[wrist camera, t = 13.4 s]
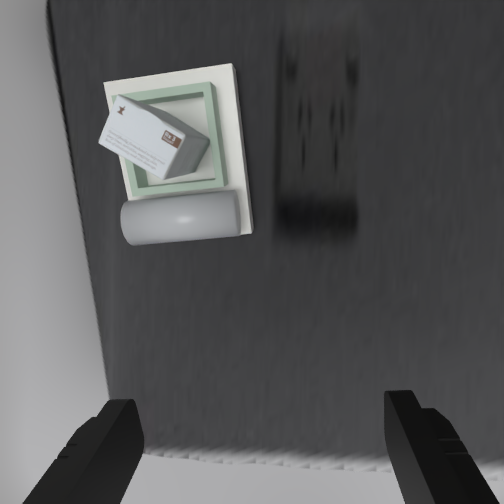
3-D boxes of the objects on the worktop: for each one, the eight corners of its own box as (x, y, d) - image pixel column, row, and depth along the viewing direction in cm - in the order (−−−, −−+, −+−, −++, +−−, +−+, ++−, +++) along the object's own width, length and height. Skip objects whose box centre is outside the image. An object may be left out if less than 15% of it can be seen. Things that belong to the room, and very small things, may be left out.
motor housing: (235, 69, 38) (223, 50, 31) (253, 227, 43) (247, 244, 36) (116, 87, 40) (76, 72, 32) (147, 237, 45) (118, 256, 37)
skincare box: (149, 146, 38) (91, 145, 27) (166, 108, 37) (113, 90, 26) (197, 174, 39) (160, 185, 27) (216, 138, 38) (185, 133, 26)
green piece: (215, 86, 36) (210, 81, 33) (228, 183, 39) (224, 186, 36) (124, 99, 37) (111, 95, 34) (143, 193, 40) (132, 196, 37)
